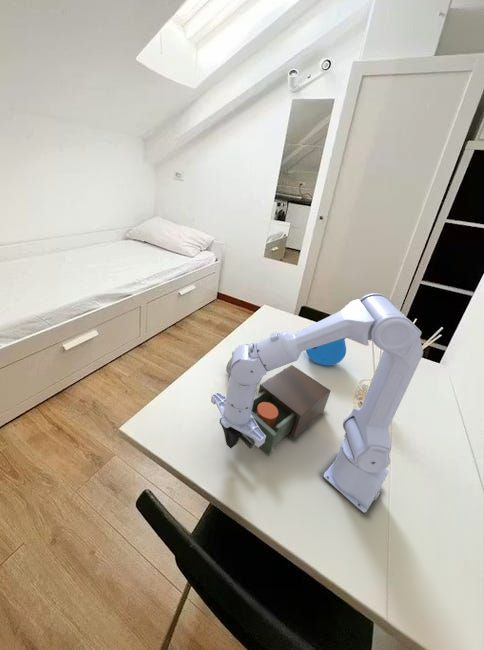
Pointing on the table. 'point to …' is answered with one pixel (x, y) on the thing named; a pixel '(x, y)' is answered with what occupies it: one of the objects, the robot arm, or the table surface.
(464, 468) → the table surface
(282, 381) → the cabinet
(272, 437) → the drawer
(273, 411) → the orange cylinder canister
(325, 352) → the alarm clock
